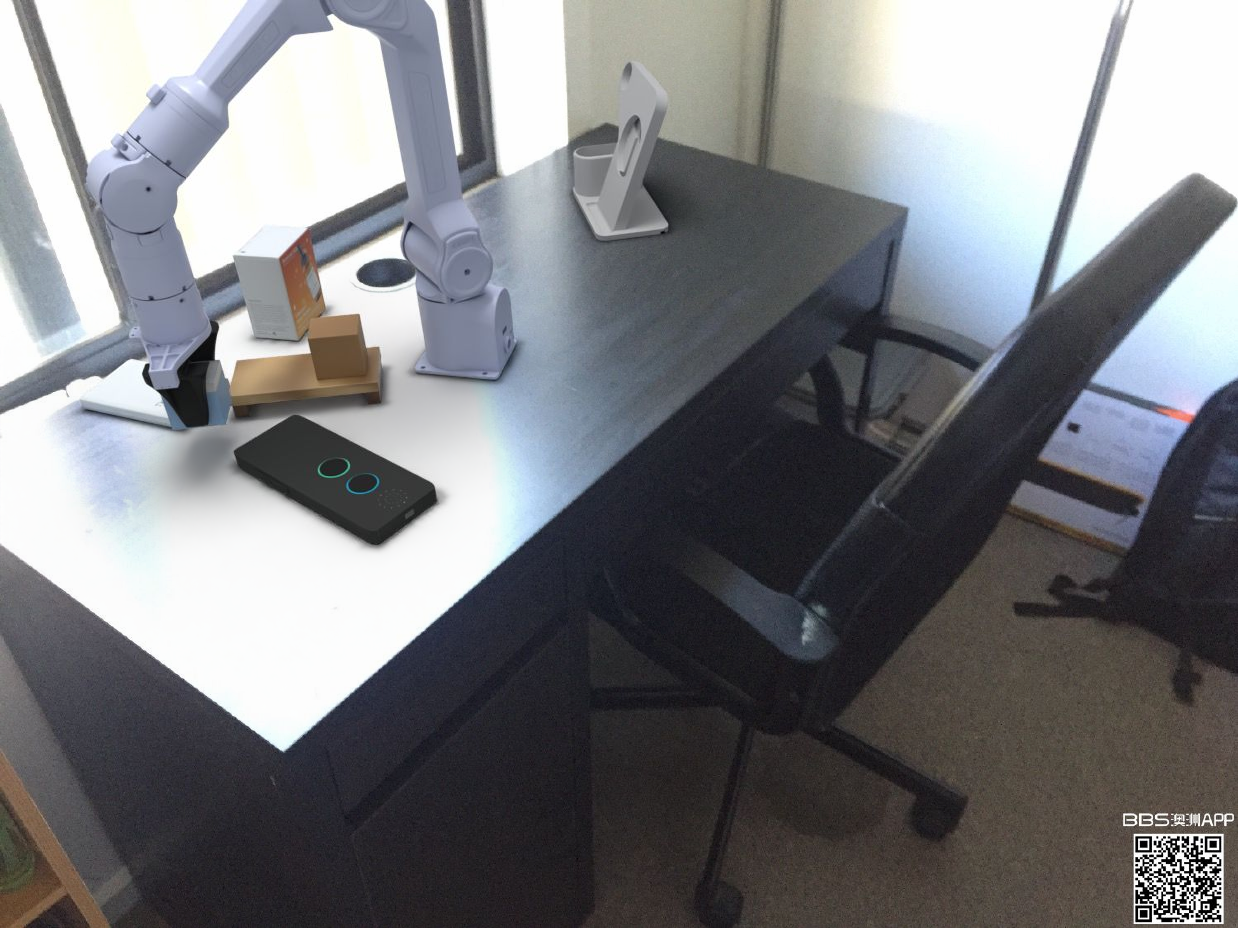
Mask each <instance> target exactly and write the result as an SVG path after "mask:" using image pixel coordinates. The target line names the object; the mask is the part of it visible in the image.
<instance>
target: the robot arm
mask: <svg viewBox="0 0 1238 928" xmlns="http://www.w3.org/2000/svg"><path fill="white" fill-rule="evenodd" d="M331 15H333V16H335V18H337V19H338V20H339V21H341V22H342V23H344V24H346V25H348V26H352V27H355V28H358V29H359V28H360V29H363V30H366V31H367V32H369V33H370V34H371V35H373V36H375V37H376V38H377V39H378V41H379V43H380V44H379V45H380V50H381V51H380V52H381V55H382V61H383V66H384V72H385V77H386V83H387V89H388V93H389V94H388V95H389V99H390V104H391V110H392V115H393V121H394V127H395V131H396V137H397V142H398V148H399V152H400V158H401V159H400V160H401V164H402V169H403V173H404V174H403V175H404V180H405V185H406V191H407V192H406V193H407V197H408V200H407V201H406V202H405V204H404V206H403V207H402V215H403V228H402V232H401V234H400V235H401V236H400V241H399V242H400V243H399V246H400V247H399V248H400V251H401V254H402V256H403V258H404V259H405V261H407V263H408V264H410V265H411V266H412V267H413V268H414V270H415V283H414V285H415V292H416V297H417V299H416V300H417V304H418V311H419V318H420V323H421V329H422V336H423V341H424V342H423V343H424V349H425V350H424V351H423V352H422V354H421V356H420V358H419V359H418V360H417V362H416V363H415V365H414V367H413V370H414V373H417V374H429V375H439V376H450V377H458V378H459V377H460V378H471V379H480V380H481V379H482V380H490V381H491V380H492V381H493V380H498V379H499V378H500V376H501V374H502V372H503V370H504V369H505V367H506V365H507V363H508V360H509V358H510V356H511V355H512V353H513V352H514V350H515V347H516V345H517V339H516V338H515V332H514V322H513V311H512V303H511V296H510V293H509V290H508V289H507V288H506V287H502V286H499V285H495V284H493V283H490V280H491V279H492V275H493V272H494V261H493V256H492V254H491V252H490V250H489V249H488V247H486V245H485V243H484V242H483V240H482V237H481V229H480V226H479V224H478V222H477V220H476V219H475V216H474V215H473V214H472V212H471V210H470V208H469V207H468V205H467V203H466V201H465V200H464V197H463V191H462V183H461V178H460V177H461V176H460V171H459V164H458V157H457V150H456V145H455V143H456V142H455V138H454V137H455V136H454V130H453V124H452V118H451V111H450V104H449V103H450V102H449V97H448V91H447V84H446V77H445V70H444V63H443V57H442V51H441V44H440V38H439V37H440V36H439V30H438V24H437V19H436V15H435V11H434V10H433V9H432V7H431V6H430V4H429V3H428V2H427V1H426V0H247V1H246V2H245V3H244V5H243V6H242V7H241V9H240V10H239V12H238V13H237V15H236V16H235V17H234V18H233V19H232V21H231V23H230V24H229V25H228V27H227V28H226V29H225V31H223V33H222V35H221V36H220V37H219V39H218V41H217V42H216V43H215V44H214V46H213V47H212V49H211V50H210V51H209V53H208V54H207V56H206V57H205V58H204V59H203V61H202V62H201V64H200V65H199V67H197V69H196V70H195V72H194V73H192V74H190V75H183V76H181V75H180V76H172V77H169V78H168V79H167V80H166V82H165V83H164V85H162V87H161V86H160V85H159V84H158V83H154V84H153V85H152V86H151V87H150V88H149V89H148V91H147V92H146V93H145V96H146V97H147V98H148V99H149V100H150V101H149V103H147V105H146V106H145V107H144V108H143V110H142V111H141V112H140V113H139V114H138V116H137V117H136V118H135V119H134V121H133V122H132V123H131V124H130V125H129V127H127V129H126V130H125V131H124V133H123V134H120V133H119V132H116V134H115V135H114V136H113V137H112V139H111V140H110V143H111V145H112V146H110V148H109V149H106V148H104V149H102V150H101V151H99V152H97V154H95V155H94V157H92V159H91V160H90V162H89V163H88V166H87V169H86V176H85V181H86V183H84V185H83V186H84V189H85V191H86V193H87V194H88V196H89V198H91V199H92V200H93V201H94V202H95V204H97V205H98V207H99V208H100V210H101V212H102V213H103V214H102V216H103V219H104V222H105V230H106V233H107V235H108V237H109V238H110V247H111V250H112V253H113V256H114V259H115V262H116V264H117V268H118V270H119V272H120V276H121V278H122V282H123V284H124V287H125V290H126V293H127V296H128V299H129V301H130V304H131V307H132V310H133V312H134V316H135V318H136V321H137V324H138V325H136V326H133V327H132V328H131V329H130V331H129V333H128V339H129V341H130V344H141V345H142V346H143V349H144V351H145V354H146V356H147V360H148V362H149V363H146V364H145V366H144V369H143V372H142V376H143V379H144V381H145V383H146V384H147V385H148V386H150V387H152V388H153V389H154V390H156V391H157V392H158V393H159V394H160V395H162V396H163V397H164V398H165V399H166V401H167V402H168V403H169V404H170V406H171V407H172V408H173V410H174V411H175V412H176V414H177V415H178V417H179V418H180V420H181V421H182V422H183V424H184V425H185V426H186V427H187V428H189V427H198V428H200V427H199V426H207V425H208V423H209V407H208V401H207V394H206V375H207V369H208V366H209V361H211V360H216V347H217V346H216V345H217V338H218V334H219V331H220V324H219V322H218V321H216V320H210V318H209V316H208V314H207V312H206V310H205V308H204V307H205V305H204V303H203V299H202V295H201V292H200V289H198V286H197V283H196V279H195V277H194V273H193V269H192V266H191V263H190V260H189V256H188V253H187V249H186V246H185V243H184V240H183V236H182V232H181V231H180V229H179V228H178V226H177V224H176V220H175V214H176V211H177V209H178V203H179V202H178V200H179V199H178V189H179V188H180V186H181V185H183V184H184V183H185V181H186V180H187V179H188V178H189V177H190V175H191V174H192V173H193V172H194V170H195V169H197V167H198V166H199V164H200V163H201V162H202V160H204V158H206V156H207V155H208V153H209V152H210V151H211V150H212V149H213V148H214V146H216V144H217V142H218V141H219V140H220V139H221V138H222V136H223V135H224V134H225V133H226V132H227V131H228V130H229V128H230V118H229V116H230V115H229V104H230V102H232V100H234V99H235V97H236V96H237V95H238V94H239V93H240V92H241V91H242V90H243V89H244V88H245V86H246V85H247V84H248V83H249V82H250V81H251V80H252V79H253V78H254V77H255V76H256V75H257V74H258V73H259V72H260V70H262V68H263V67H264V66H265V65H266V64H267V63H268V62H269V61H270V59H271V58H273V57H274V55H275V54H276V53H277V52H278V51H279V50H280V49H281V48H282V47H283V46H284V45H285V43H287V42H288V40H289V39H290V38H291V37H294V36H299V35H308V34H318V33H325V32H332V31H334V26H333V25H332V23H331V21H330V19H329V17H328V16H331ZM201 361H207V362H201ZM190 362H196V363H190ZM189 429H190V428H189Z"/></svg>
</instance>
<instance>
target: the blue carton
mask: <svg viewBox="0 0 1238 928" xmlns="http://www.w3.org/2000/svg"><path fill="white" fill-rule="evenodd" d="M201 362H207V361H201ZM190 363H196V362H190ZM225 377H226V376H225V372H224V369H223V365H222V361H221V360H220V359H215V360H211V361H209V366H208V369H207V375H206V394H207V401H208V407H209V423H208V425H207V426H199V427H189V428H187V427H186V426H185V425H184V424H183V422H182V421H181V420H180V418H179V417H178V415H177V414H176V412H175V411H174V410H173V408H172V407H171V406H170V404H169V403H168V402H167V401H166V399H165V398H164V397H163V396H162V395H160V396H161V398H162V401H163V404H164V407H165V410H166V413H167V415H168V418H169V421H170V424H171V427H170V428H171V430H172V431H177V430H187V429H195V428H196V429H198V428H208V427H215V426H225V425H227V423H228V418H229V414H230V410H231V407H232V406H231V402H232V399H231V395H230V392H229V390H230V388H229V389H228V385H227V382H226V379H225Z"/></svg>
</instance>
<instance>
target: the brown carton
mask: <svg viewBox="0 0 1238 928" xmlns="http://www.w3.org/2000/svg"><path fill="white" fill-rule="evenodd" d="M307 332H308V333H307V344H308V348H309V353H311V356H312V361H313V365H314V369H315V373H316V377H317V380H323V379H333V378H344V377H354V376H364V375H366V369H367V349H366V348H367V345H366V340H365V334H364V329H363V325H362V319H361V314H360V313H351V314H340V315H339V314H338V315H331V316H330V315H329V316H328V315H327V316H318V318H311V319H310V325H309V328H308V331H307Z"/></svg>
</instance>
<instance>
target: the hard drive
mask: <svg viewBox="0 0 1238 928" xmlns="http://www.w3.org/2000/svg"><path fill="white" fill-rule="evenodd" d="M146 363H149V361H144V360H139V359H134V358H130V359H128V360H126V361H125V362H124V363H122V364H121V365H120V366H118V367H117V368H116V369H115V370H113V371H112V372H111V373H109V374H108V375H107V376H105V377H104V378H103V379H101V380H100V381H99V382H98V383H97V384H95V385H94V386H92V387H91V388H90V389H88V390H87V391H86V392H85V393H84V394H83V395H81V396H80V397H79V401H80V404H81V407H82V408H83V409H84V410H89V411H93V412H99V413H102V414H103V413H104V414H108V415H113V416H116V417H121V418H126V419H132V420H135V421H140V422H144V423H145V422H146V423H150V424H154V425H160V426H163V427H168V428H169V427H170V428H172V427H171V424H170V421H169V418H168V415H167V413H166V410H165V407H164V404H163V401H162V398H161V396H160V394H159V393H158V392H157V391H156V390H154V389H153V388H152V387H150V386H148V385H147V384H146V383H145V381H144V379H143V376H142V372H143V369H144V366H145V364H146ZM225 379H226V382H227V385H228V389H229V390H230V386H231V383H230V379H229V378H228V377H226V376H225Z"/></svg>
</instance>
